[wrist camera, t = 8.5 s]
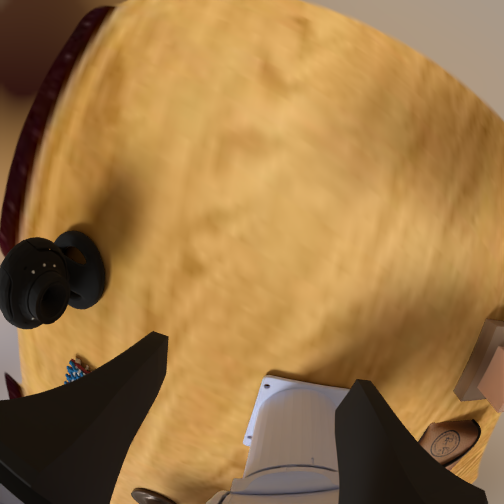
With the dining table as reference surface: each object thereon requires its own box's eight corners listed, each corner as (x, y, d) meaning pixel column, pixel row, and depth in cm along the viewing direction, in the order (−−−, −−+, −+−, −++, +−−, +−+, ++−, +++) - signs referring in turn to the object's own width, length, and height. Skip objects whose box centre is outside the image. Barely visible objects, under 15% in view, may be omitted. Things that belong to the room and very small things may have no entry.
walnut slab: (494, 385, 18) (504, 396, 16) (451, 388, 19) (460, 401, 17) (523, 322, 17) (535, 330, 15) (482, 316, 18) (496, 326, 16)
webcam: (101, 321, 23) (29, 366, 13) (53, 288, 24) (-17, 315, 14) (114, 245, 21) (23, 268, 12) (61, 218, 22) (-20, 228, 12)
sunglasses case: (430, 420, 20) (469, 452, 14) (453, 403, 22) (487, 428, 17) (353, 503, 23) (378, 530, 17) (384, 484, 26) (408, 508, 20)
